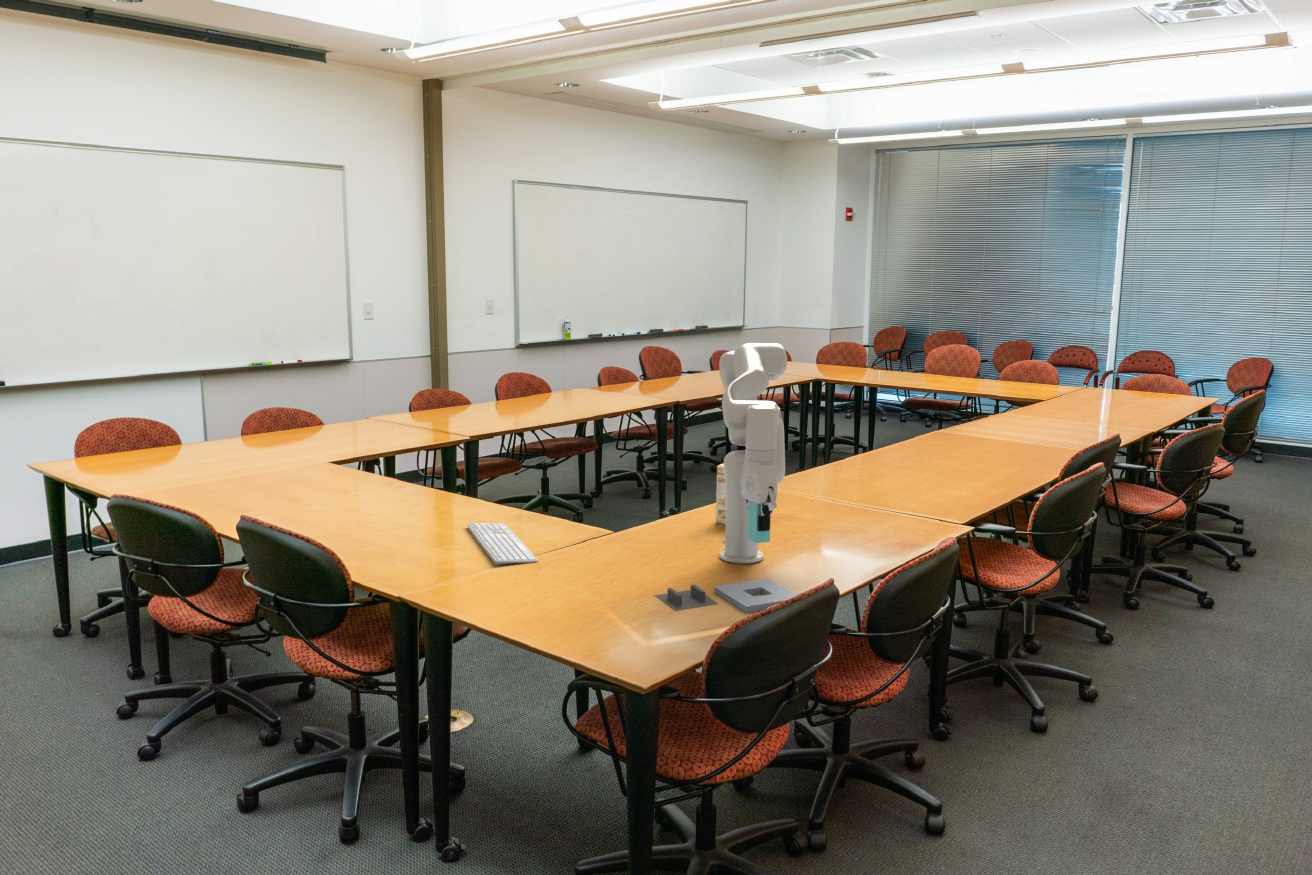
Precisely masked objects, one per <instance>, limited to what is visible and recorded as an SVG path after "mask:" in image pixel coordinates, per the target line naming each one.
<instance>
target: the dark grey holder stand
mask: <svg viewBox="0 0 1312 875" xmlns="http://www.w3.org/2000/svg"><path fill="white" fill-rule="evenodd" d="M654 597H656V598H657V599H658V600H659V601H661V602H662V603H664V604H665V605H667V606H668V607H669V608H670V609H672V610H673V611H675V612H676V611H683V610H690V609H696V608H702V607H709V606H715V605H720V603H718V601H715V600H714V599H712V598H711V597H709V596H708V595H706V591H705V590H704V589H702V588H701V587H699V586H697V585H696V584H690V589H688V590H683V591H676V590H675V589H673V587H668V588H667V593H661V594H655V595H654Z"/></svg>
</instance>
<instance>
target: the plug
mask: <svg viewBox="0 0 1312 875" xmlns="http://www.w3.org/2000/svg"><path fill="white" fill-rule="evenodd" d="M765 502H767V501H765ZM766 506H767V505H764V508H765V507H766ZM758 515H760V510H759V504H756V503H754V502H751V501H748V540H750V541H752V542H754V543H758V544H763V543H769V542H771V538H770V537H771V529H770V530H769V531H761V532H760V531H758ZM770 517H771V515H770Z"/></svg>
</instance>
